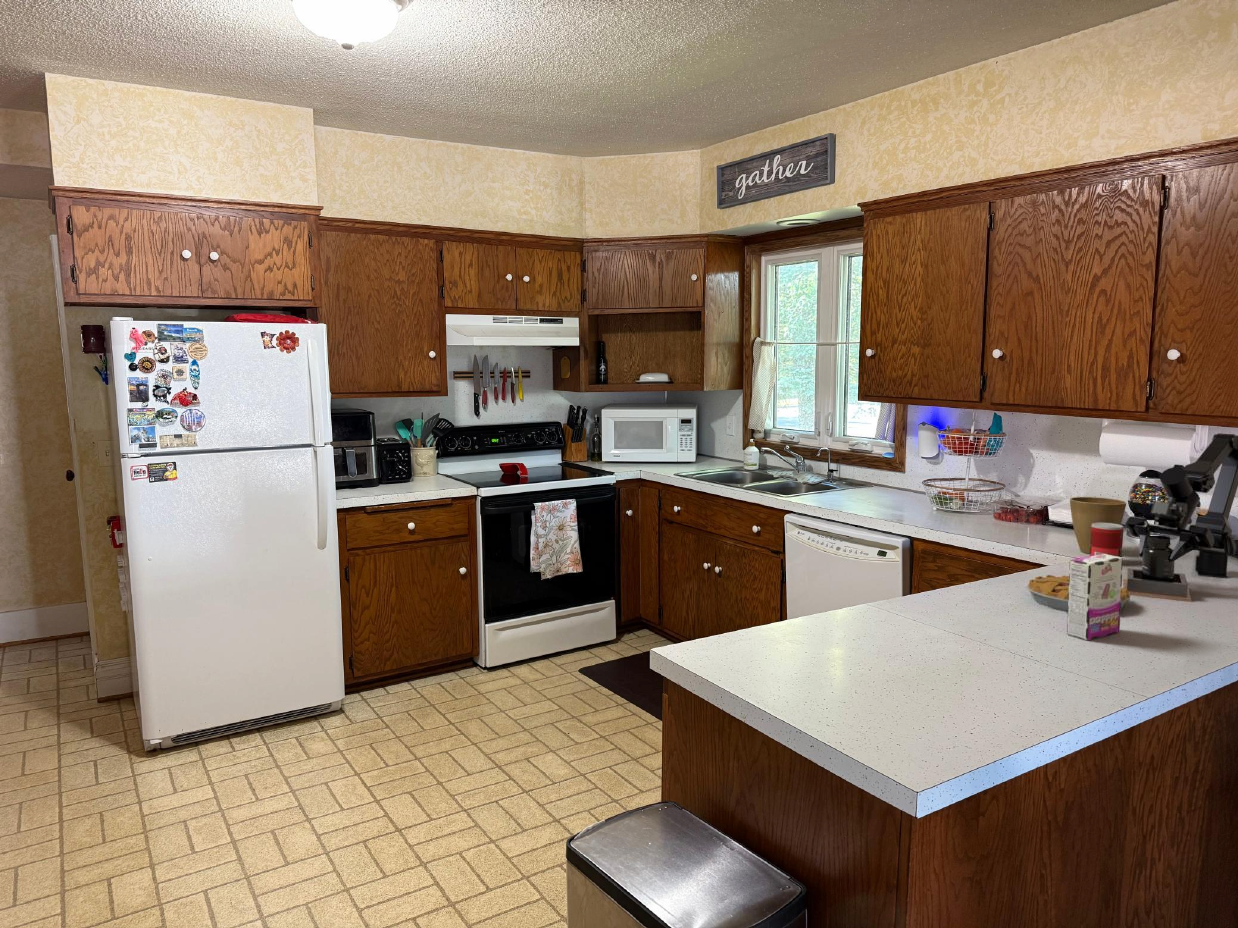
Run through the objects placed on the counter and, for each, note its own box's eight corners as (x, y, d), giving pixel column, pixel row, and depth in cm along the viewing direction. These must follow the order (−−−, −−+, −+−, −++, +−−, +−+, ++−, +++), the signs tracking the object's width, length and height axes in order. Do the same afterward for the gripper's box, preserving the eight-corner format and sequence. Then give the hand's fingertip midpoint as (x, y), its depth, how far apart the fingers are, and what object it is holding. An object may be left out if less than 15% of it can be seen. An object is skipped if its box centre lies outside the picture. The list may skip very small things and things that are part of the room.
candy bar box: (1097, 626, 185) (1102, 552, 183) (1120, 633, 180) (1125, 557, 178) (1064, 634, 179) (1068, 558, 177) (1086, 641, 175) (1091, 563, 173)
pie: (1013, 604, 203) (1014, 584, 202) (1042, 586, 218) (1043, 567, 218) (1116, 622, 188) (1118, 600, 187) (1139, 602, 204) (1141, 582, 203)
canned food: (1125, 566, 239) (1128, 527, 237) (1094, 565, 240) (1096, 527, 239) (1115, 560, 246) (1117, 522, 245) (1085, 559, 248) (1087, 522, 247)
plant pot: (1127, 559, 247) (1130, 505, 245) (1069, 555, 253) (1072, 502, 251) (1118, 548, 261) (1121, 497, 259) (1064, 545, 266) (1067, 495, 265)
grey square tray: (1187, 588, 215) (1188, 573, 215) (1190, 601, 203) (1192, 586, 203) (1123, 581, 222) (1124, 567, 222) (1123, 593, 210) (1124, 578, 210)
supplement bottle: (1135, 583, 214) (1136, 536, 213) (1152, 579, 217) (1153, 533, 216) (1163, 588, 208) (1164, 540, 207) (1180, 584, 211) (1181, 537, 210)
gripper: (1131, 485, 220) (1106, 532, 215) (1212, 494, 204) (1186, 545, 199) (1145, 511, 225) (1120, 558, 220) (1225, 522, 209) (1200, 573, 205)
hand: (1155, 558), depth 211 cm, fingers closed on supplement bottle, 7 cm apart
